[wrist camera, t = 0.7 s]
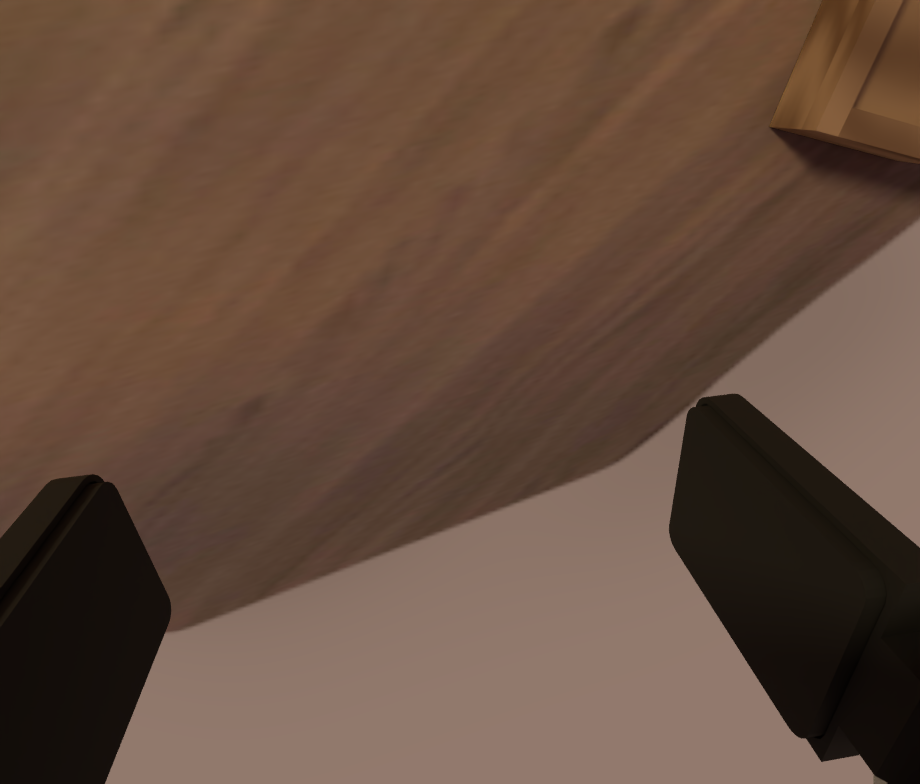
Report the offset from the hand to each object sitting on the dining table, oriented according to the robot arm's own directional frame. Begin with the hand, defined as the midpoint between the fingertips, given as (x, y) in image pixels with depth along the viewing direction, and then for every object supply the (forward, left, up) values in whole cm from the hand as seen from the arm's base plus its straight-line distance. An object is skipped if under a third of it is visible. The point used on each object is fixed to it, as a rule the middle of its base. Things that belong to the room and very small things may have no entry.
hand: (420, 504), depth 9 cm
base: (-14, +27, -28) cm, 42 cm away
